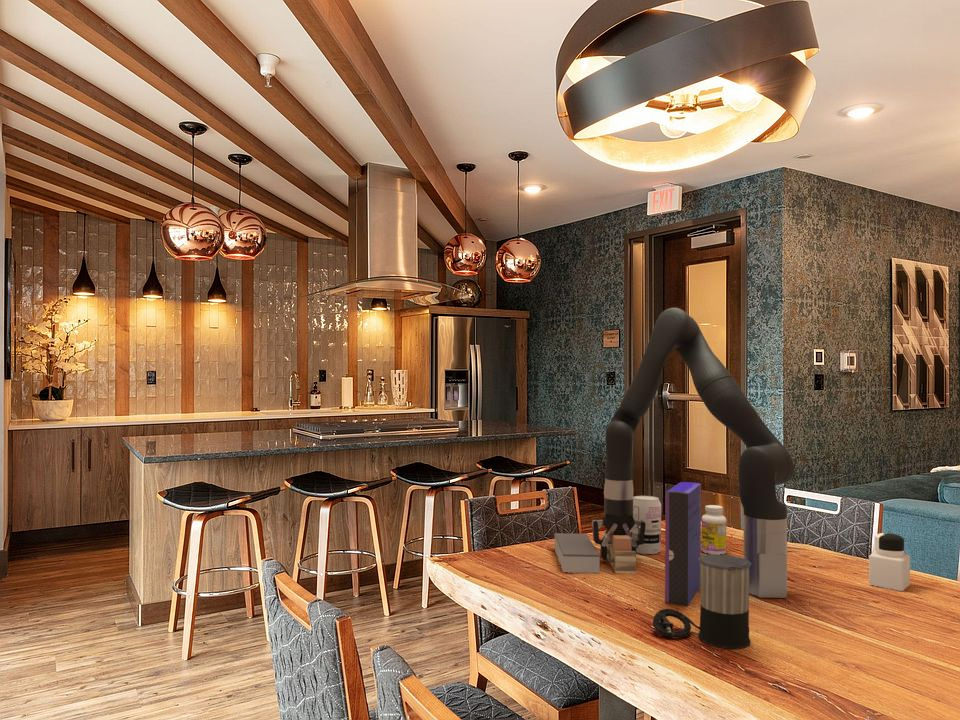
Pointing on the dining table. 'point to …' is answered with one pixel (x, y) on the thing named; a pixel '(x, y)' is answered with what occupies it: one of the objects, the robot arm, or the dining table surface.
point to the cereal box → (682, 542)
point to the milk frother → (717, 604)
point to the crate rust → (621, 543)
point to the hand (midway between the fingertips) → (618, 560)
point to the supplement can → (648, 523)
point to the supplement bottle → (713, 530)
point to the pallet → (621, 559)
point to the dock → (576, 553)
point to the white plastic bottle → (889, 563)
